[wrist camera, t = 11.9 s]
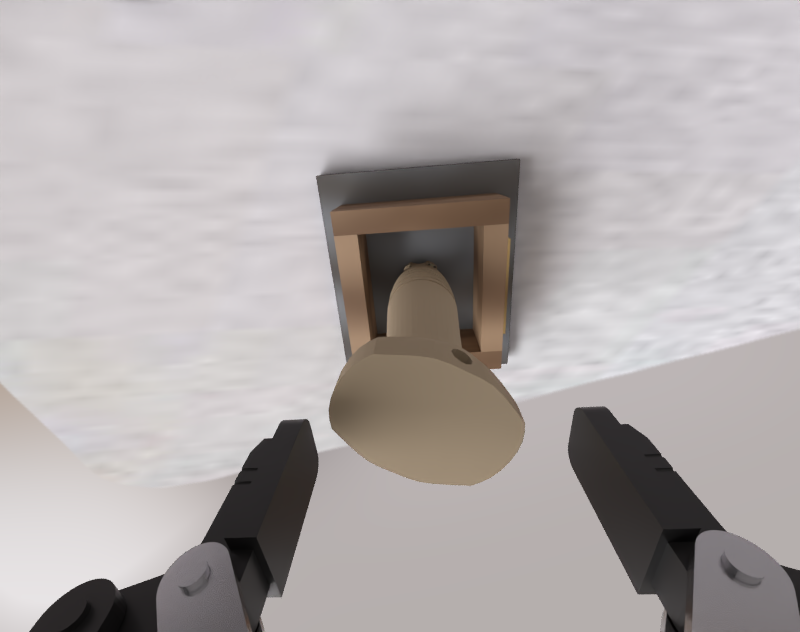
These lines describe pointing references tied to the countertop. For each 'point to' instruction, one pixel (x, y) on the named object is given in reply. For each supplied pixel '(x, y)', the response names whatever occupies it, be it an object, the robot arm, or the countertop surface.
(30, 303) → the countertop surface
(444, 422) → the handle
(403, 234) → the socket
